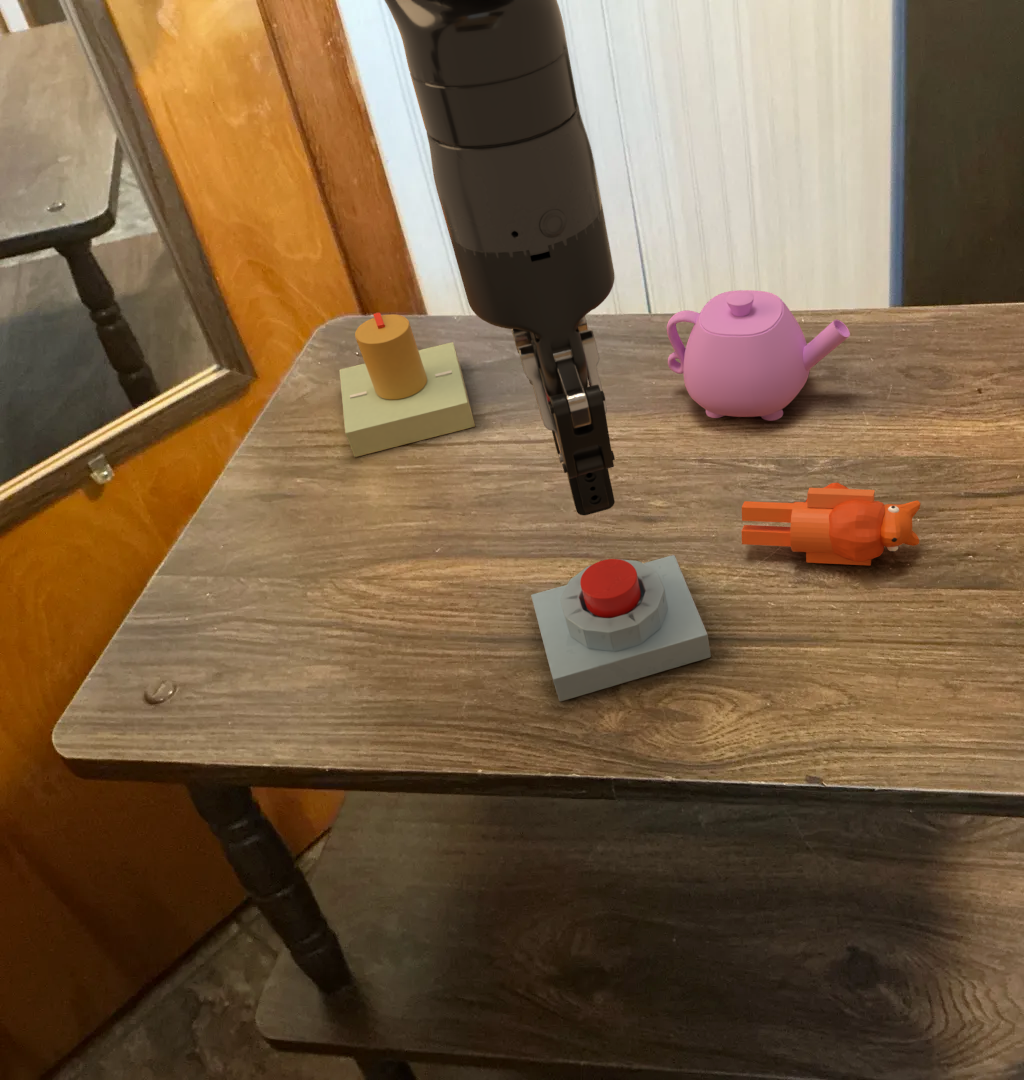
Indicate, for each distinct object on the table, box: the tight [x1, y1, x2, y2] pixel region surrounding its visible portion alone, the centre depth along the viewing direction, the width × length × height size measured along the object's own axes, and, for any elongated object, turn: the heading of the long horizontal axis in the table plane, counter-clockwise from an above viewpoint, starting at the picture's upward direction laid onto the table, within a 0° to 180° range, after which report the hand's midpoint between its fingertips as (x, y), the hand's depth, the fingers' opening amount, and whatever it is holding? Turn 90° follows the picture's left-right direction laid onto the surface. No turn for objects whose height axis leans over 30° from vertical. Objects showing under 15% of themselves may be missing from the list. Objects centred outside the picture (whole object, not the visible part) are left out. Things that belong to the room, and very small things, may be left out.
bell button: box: [580, 558, 641, 618], centre depth 72 cm, size 4×4×2 cm
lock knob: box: [354, 312, 427, 400], centre depth 94 cm, size 4×4×6 cm
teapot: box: [666, 289, 851, 422], centre depth 91 cm, size 10×15×9 cm
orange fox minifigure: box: [741, 482, 921, 566], centre depth 78 cm, size 5×8×12 cm
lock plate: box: [338, 341, 476, 458], centre depth 97 cm, size 10×10×3 cm
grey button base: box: [530, 554, 712, 702], centre depth 74 cm, size 10×8×4 cm
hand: (586, 480), depth 66 cm, fingers open, 4 cm apart
